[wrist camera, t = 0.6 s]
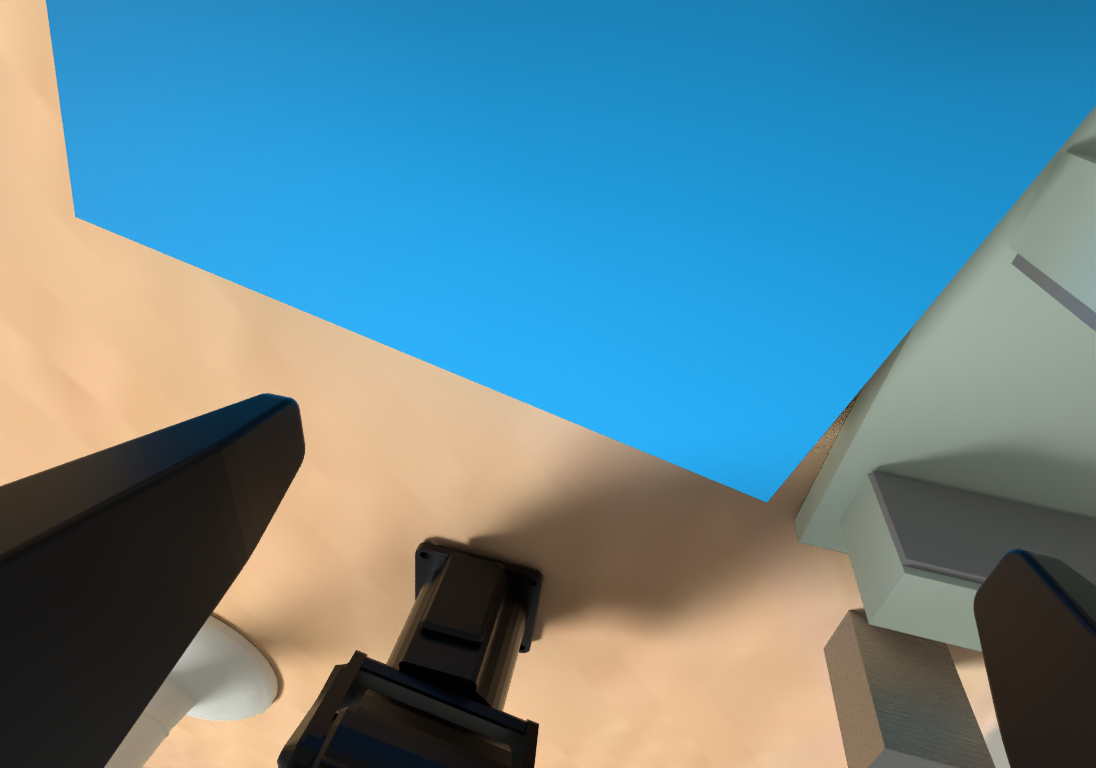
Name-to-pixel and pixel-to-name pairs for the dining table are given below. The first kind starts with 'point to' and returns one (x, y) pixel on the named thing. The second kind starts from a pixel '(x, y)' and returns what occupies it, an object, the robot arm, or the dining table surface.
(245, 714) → the candlestick
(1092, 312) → the jaw
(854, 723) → the block
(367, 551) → the dining table surface
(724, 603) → the dining table surface
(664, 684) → the dining table surface
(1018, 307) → the vise
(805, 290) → the book
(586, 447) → the dining table surface
